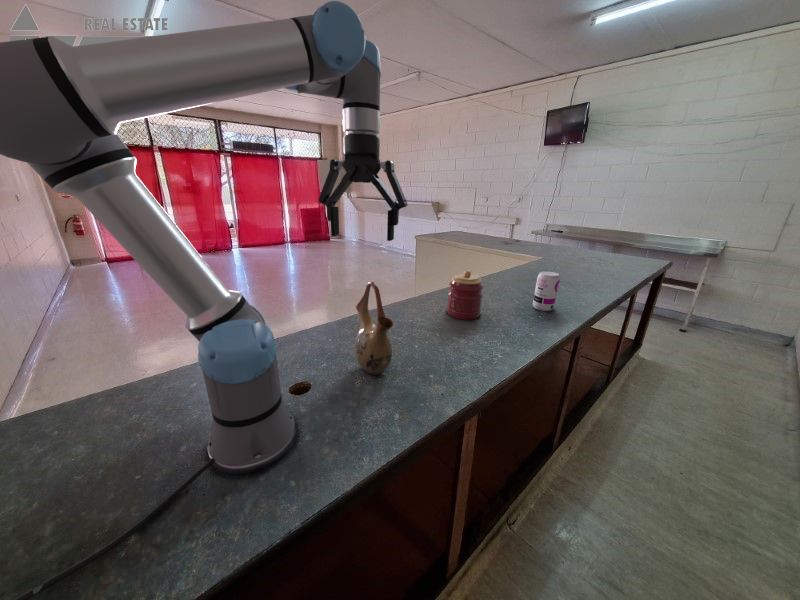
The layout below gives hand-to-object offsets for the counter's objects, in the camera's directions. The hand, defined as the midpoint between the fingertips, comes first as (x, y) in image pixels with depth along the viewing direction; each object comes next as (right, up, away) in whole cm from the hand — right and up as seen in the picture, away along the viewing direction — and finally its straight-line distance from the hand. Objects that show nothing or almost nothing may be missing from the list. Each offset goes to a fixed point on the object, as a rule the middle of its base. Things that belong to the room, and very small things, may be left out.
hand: (362, 237), depth 73 cm
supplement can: (+69, -18, +60) cm, 93 cm away
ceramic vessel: (+2, -34, +13) cm, 36 cm away
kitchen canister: (+34, -20, +52) cm, 65 cm away
